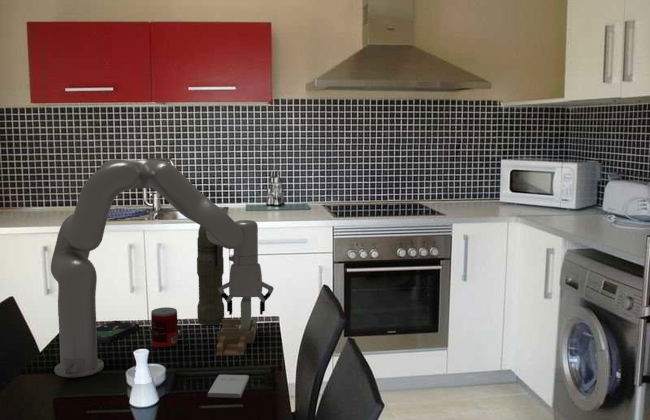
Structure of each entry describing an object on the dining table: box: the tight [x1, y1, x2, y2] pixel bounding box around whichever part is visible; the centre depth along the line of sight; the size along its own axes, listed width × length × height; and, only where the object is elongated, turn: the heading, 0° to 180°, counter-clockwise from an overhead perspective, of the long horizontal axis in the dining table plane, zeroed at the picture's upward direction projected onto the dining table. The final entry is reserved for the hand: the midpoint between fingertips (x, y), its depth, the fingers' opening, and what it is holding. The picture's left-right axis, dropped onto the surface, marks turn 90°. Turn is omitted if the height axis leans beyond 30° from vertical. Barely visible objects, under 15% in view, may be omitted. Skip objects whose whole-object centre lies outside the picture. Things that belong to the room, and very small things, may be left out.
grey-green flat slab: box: [240, 297, 252, 331], centre depth 203 cm, size 9×2×12 cm, turn 2°
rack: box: [216, 318, 258, 345], centre depth 204 cm, size 14×11×4 cm
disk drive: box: [96, 320, 140, 344], centre depth 207 cm, size 10×3×15 cm
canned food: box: [150, 306, 179, 349], centre depth 196 cm, size 8×8×11 cm
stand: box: [215, 336, 247, 356], centre depth 191 cm, size 10×8×4 cm
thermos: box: [196, 225, 225, 326], centre depth 217 cm, size 9×12×35 cm
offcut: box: [221, 324, 236, 331], centre depth 200 cm, size 5×4×2 cm
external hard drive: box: [207, 374, 250, 399], centre depth 165 cm, size 2×8×12 cm
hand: (246, 313), depth 203 cm, fingers open, 9 cm apart
